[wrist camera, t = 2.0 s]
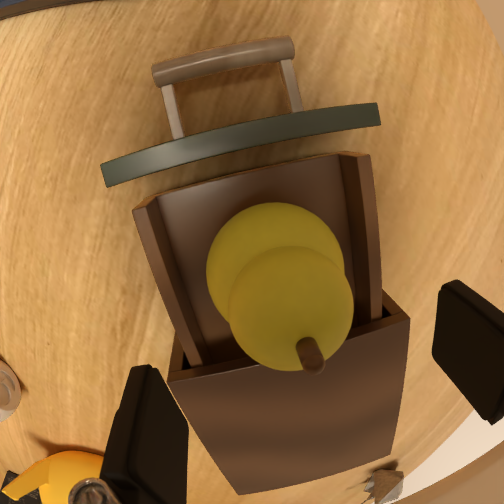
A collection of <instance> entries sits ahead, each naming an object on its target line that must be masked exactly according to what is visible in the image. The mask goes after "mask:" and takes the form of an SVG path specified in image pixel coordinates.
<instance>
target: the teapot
mask: <svg viewBox="0 0 504 504" xmlns="http://www.w3.org/2000/svg"><path fill="white" fill-rule="evenodd" d="M103 458H104V457H103V456H100V455H96V454H92V453H88V452H83V451H72V450H71V451H63V452H60V453H56V454H54V455H51V456H49V457H47V458H46V459H43V460H40V461H37V462H35V463H34V464H33V465H32V466H30V467H29V468H28V469H27V470H26V471H24V472H23V473H22V474H21V475H19V476H18V477H17V478H16V479H14V480H13V481H12V482H11V483H9V484H8V485H7V486H5V487H4V488H3V489H2V492H3V493H5V494H6V495H7V496H9V497H10V498H12V499H13V500H19V498H21V497H22V496H24V495H26V494H28V493H29V492H31V491H33V490H35V489H36V488H38V487H39V493H40V497H41V501H42V504H68V496H69V493H70V490H71V489H72V488H73V486H74V485H75V484H76V483H78V482H79V481H81V480H83V479H85V478H91V477H93V478H99V475H100V471H101V466H102V462H103Z"/></svg>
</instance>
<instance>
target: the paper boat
mask: <svg viewBox="0 0 504 504" xmlns="http://www.w3.org/2000/svg"><path fill="white" fill-rule="evenodd" d="M403 478H404V475H403V472H401V471H392V470H384V469H379V470H377V471H375V472H374V473H373V474H372V476H371V478H370V480H369V482H368V484H367V486H366V488H365V490H364V491H365V492H369V493H371V494H370V496H369V497H368V498H367V500H370V499H373V498H375V504H383V503H386V502H389V501H392V500H395V499H397V498H398V497H399V496H400V495H401V493H402V487H403ZM367 500H366V501H367ZM364 502H365V501H364ZM364 502H363V503H364ZM363 503H361V504H363Z"/></svg>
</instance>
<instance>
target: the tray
mask: <svg viewBox="0 0 504 504" xmlns="http://www.w3.org/2000/svg"><path fill="white" fill-rule="evenodd" d="M89 1H97V0H0V20H2V19H6V18H9V17H13V16H16V15H20V14H24V13H28V12H32V11H36V10H41V9H46V8H51V7H56V6H61V5H67V4H74V3H81V2H89Z"/></svg>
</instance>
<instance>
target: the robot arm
mask: <svg viewBox="0 0 504 504" xmlns="http://www.w3.org/2000/svg"><path fill="white" fill-rule="evenodd" d="M432 356H433V358H434V360H435V361H436V363H437V364H438V365H439V366H440V367H441V368H442V370H443V371H444V372H445V373H446V374H447V376H448V377H449V378H450V379H451V380H452V382H453V383H454V384H455V385H456V386H457V388H458V389H459V390H460V391H461V393H462V394H463V395H464V396H465V398H466V399H467V400H468V401H469V403H470V404H471V405H472V406H473V408H474V409H475V410H476V411H477V413H478V414H479V415H480V416H481V418H482V419H483V420H488V422H489V423H490V424H491V425H493V424H495V423H496V422H497V421H499V420H500V419H502V418H503V416H504V313H503V312H502V311H500V310H499V309H498V308H496V307H495V306H494V305H493V304H491V303H490V302H489V301H487V300H486V299H485V298H483V297H482V296H480V295H479V294H478V293H476V292H475V291H474V290H472V289H471V288H469V287H468V286H467V285H465V284H464V283H462V282H461V281H460V280H453V281H451V282H448V283H446V284H444V285H442V287H441V290H440V291H439V293H438V302H437V313H436V322H435V331H434V338H433V345H432ZM188 437H189V427H188V423H187V421H186V419H185V417H184V415H183V414H182V412H181V410H180V409H179V407H178V405H177V403H176V402H175V400H174V398H173V396H172V394H171V393H170V391H169V389H168V387H167V385H166V383H165V382H164V380H163V378H162V376H161V374H160V372H159V370H158V369H157V368H152V366H151V365H149V364H147V365H141V366H134V367H132V368H131V370H130V373H129V376H128V380H127V383H126V386H125V390H124V393H123V396H122V400H121V403H120V407H119V409H118V410H117V412H116V414H115V417H114V420H113V424H112V428H111V431H110V435H109V439H108V443H107V446H106V450H105V454H104V458H103V462H102V466H101V471H100V475H99V478H93V477H91V478H85V479H83V480H81V481H79V482H78V483H76V484H75V485H74V486H73V488H72V489H71V490H70V493H69V496H68V504H186V497H187V461H188ZM391 504H504V441H502V442H501V443H500V444H498V445H497V446H495V447H494V448H493V449H491V450H490V451H488V452H487V453H486V454H484V455H482V456H481V457H479V458H478V459H476V460H474V461H473V462H471V463H470V464H468V465H466V466H465V467H463V468H462V469H460V470H458V471H456V472H455V473H453V474H451V475H449V476H448V477H446V478H444V479H442V480H440V481H438V482H436V483H434V484H433V485H431V486H429V487H427V488H425V489H423V490H421V491H418V492H416V493H414V494H412V495H410V496H408V497H406V498H403V499H401V500H399V501H396V502H394V503H391Z"/></svg>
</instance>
